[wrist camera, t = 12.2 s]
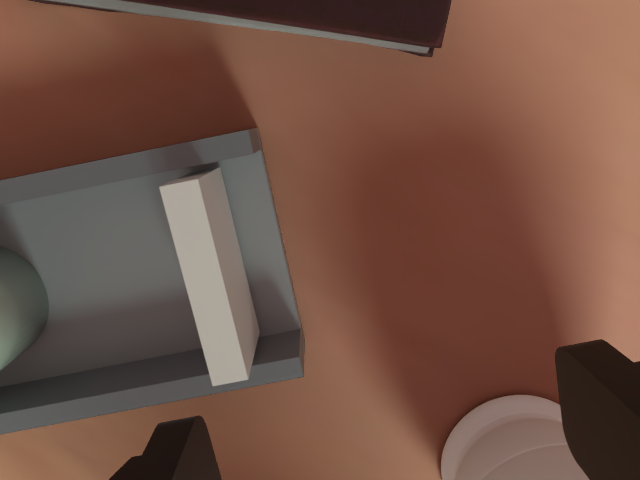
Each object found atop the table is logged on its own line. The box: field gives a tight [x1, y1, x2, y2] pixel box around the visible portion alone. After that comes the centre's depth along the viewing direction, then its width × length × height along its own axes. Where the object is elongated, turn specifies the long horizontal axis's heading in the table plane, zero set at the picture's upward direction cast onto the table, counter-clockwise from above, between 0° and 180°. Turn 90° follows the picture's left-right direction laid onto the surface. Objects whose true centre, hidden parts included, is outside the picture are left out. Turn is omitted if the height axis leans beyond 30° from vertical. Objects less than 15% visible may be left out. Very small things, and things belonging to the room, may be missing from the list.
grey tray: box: [0, 128, 305, 434], centre depth 25 cm, size 11×20×4 cm, turn 101°
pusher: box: [159, 167, 260, 386], centre depth 24 cm, size 8×2×5 cm, turn 11°
